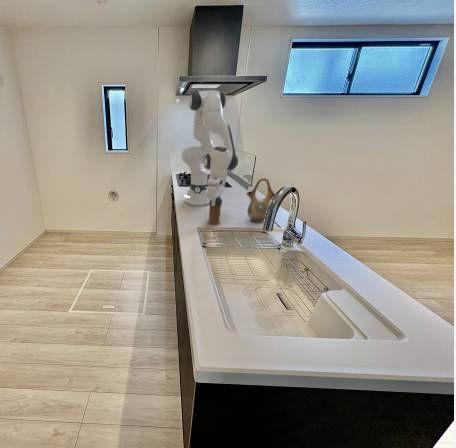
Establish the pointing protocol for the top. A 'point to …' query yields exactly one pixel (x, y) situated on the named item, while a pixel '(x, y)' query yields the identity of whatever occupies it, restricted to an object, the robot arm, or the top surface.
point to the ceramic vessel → (259, 203)
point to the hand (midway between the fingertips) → (215, 203)
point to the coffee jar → (214, 214)
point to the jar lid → (217, 202)
